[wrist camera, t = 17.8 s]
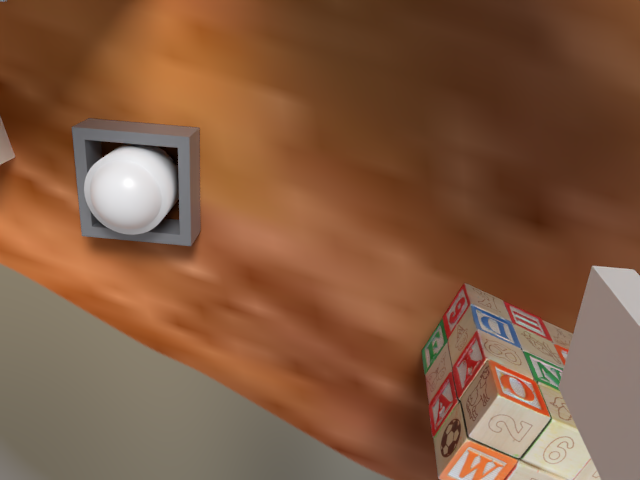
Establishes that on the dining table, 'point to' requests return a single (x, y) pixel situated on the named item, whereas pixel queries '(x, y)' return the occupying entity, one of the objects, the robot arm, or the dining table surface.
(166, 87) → the dining table surface
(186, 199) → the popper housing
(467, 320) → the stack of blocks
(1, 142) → the die
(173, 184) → the dome
